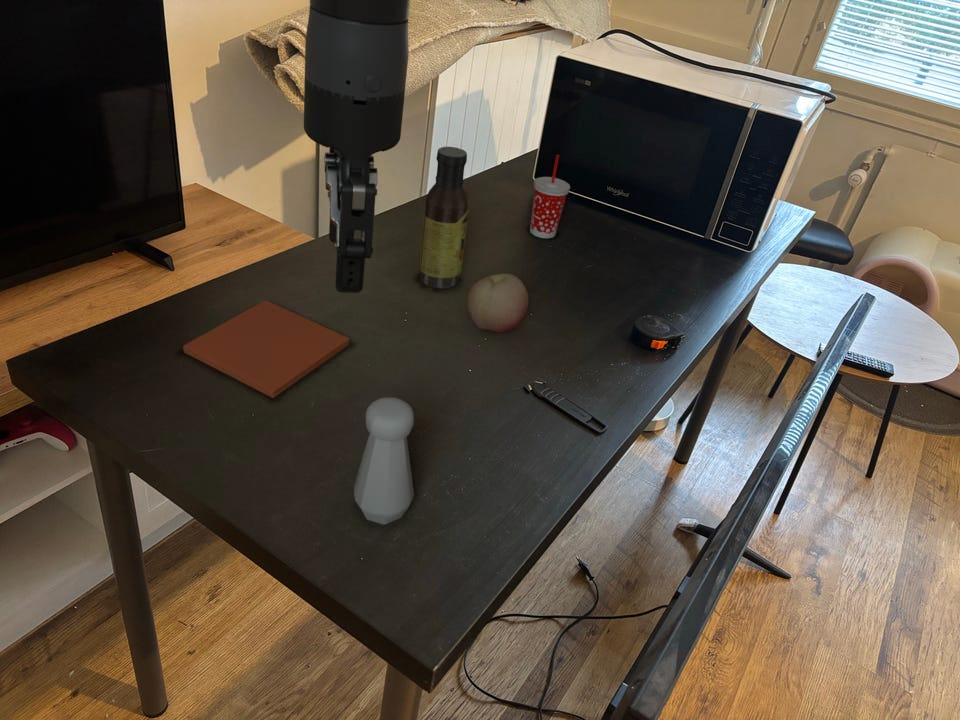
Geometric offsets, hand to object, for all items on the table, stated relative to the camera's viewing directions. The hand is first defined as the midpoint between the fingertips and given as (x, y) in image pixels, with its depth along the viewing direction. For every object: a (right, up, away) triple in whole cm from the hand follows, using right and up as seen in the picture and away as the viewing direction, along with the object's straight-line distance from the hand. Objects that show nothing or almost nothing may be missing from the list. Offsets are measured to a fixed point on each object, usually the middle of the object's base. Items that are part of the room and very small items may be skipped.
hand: (344, 264), depth 65 cm
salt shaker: (+2, -23, +8) cm, 25 cm away
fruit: (+14, -4, +37) cm, 40 cm away
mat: (-14, -7, +27) cm, 31 cm away
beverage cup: (+23, +14, +64) cm, 70 cm away
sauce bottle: (+6, +3, +46) cm, 46 cm away
